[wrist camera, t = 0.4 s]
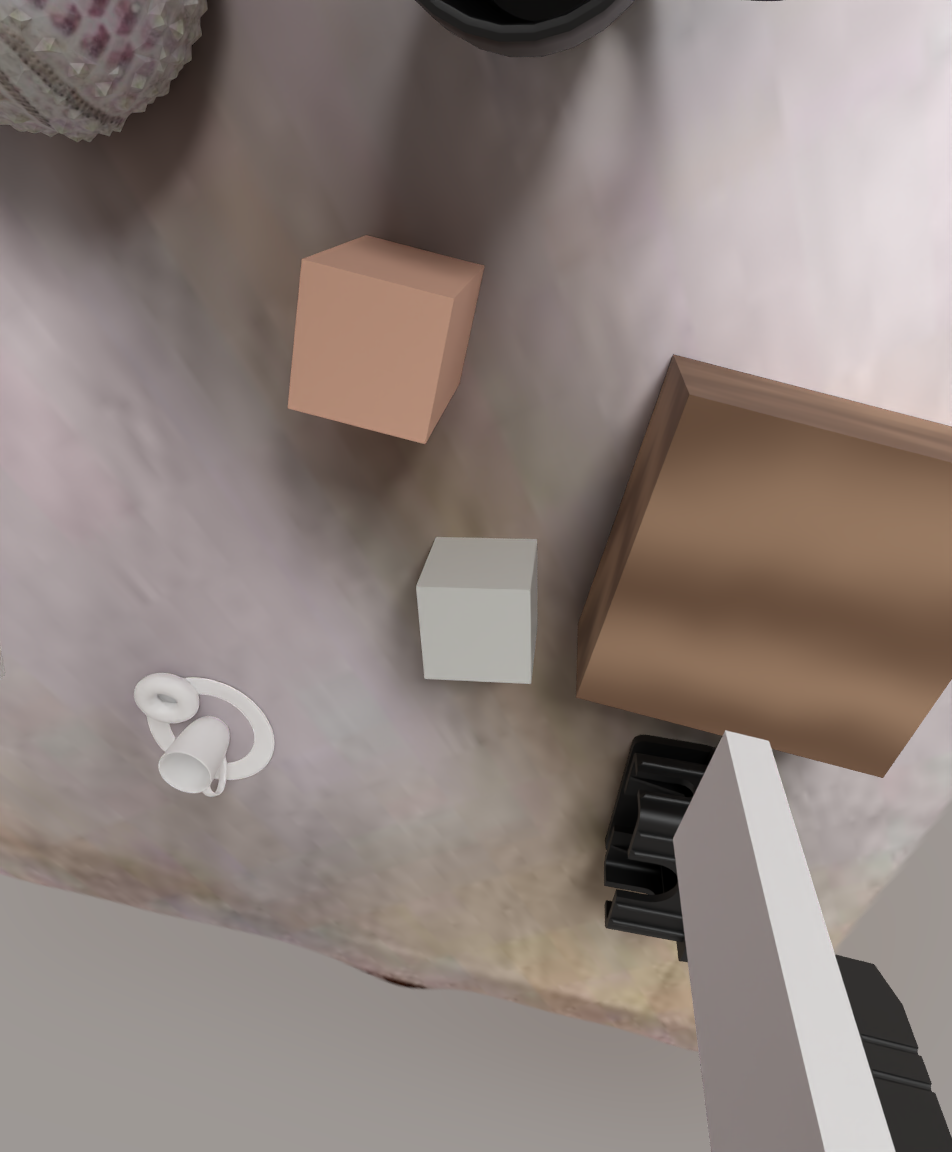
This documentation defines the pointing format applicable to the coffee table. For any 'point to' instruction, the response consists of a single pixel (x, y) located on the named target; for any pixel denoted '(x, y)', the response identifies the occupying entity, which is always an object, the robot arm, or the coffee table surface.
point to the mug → (526, 22)
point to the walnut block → (777, 570)
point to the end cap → (651, 836)
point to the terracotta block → (381, 335)
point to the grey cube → (479, 609)
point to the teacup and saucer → (200, 732)
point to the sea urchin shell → (90, 61)
